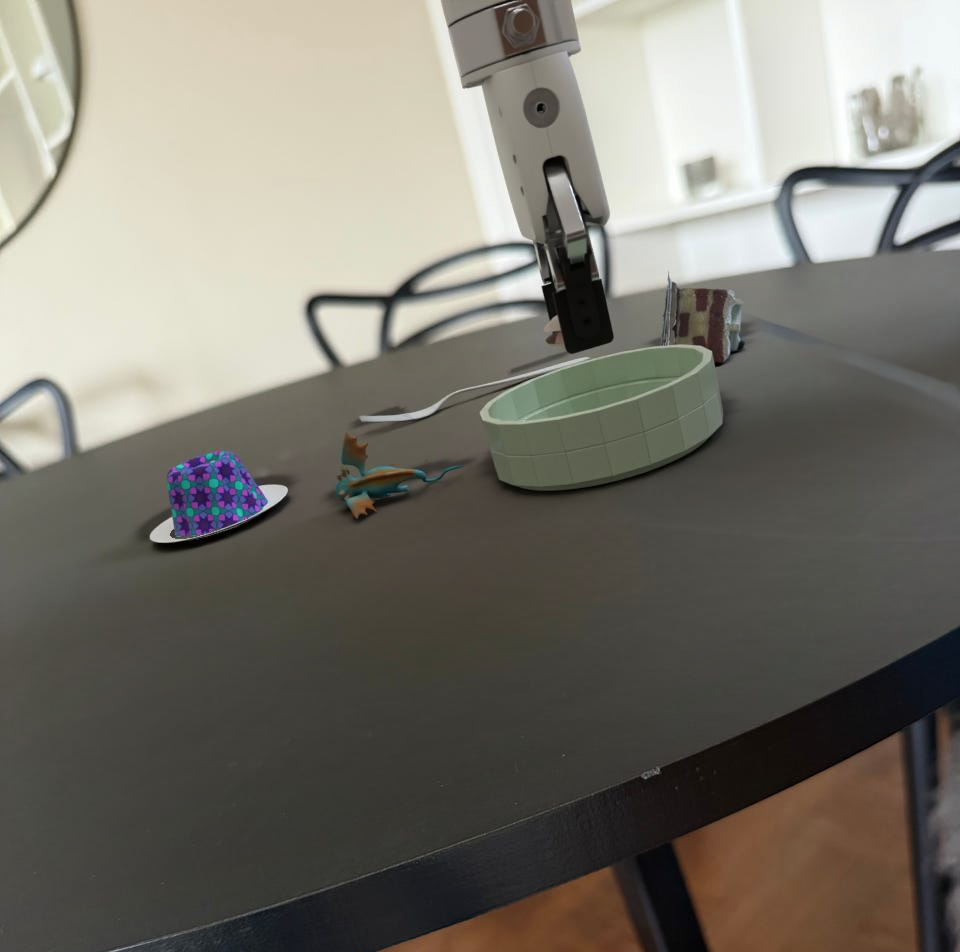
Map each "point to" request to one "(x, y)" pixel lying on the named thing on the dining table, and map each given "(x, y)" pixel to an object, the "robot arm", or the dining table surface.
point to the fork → (436, 406)
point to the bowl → (604, 418)
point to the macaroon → (554, 334)
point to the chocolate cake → (702, 319)
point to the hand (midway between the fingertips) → (583, 339)
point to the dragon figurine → (371, 478)
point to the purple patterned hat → (213, 497)
